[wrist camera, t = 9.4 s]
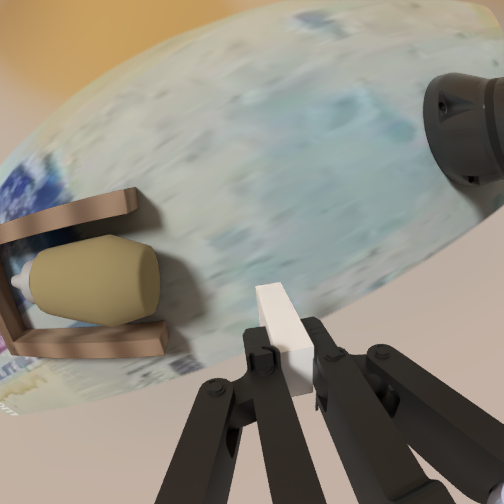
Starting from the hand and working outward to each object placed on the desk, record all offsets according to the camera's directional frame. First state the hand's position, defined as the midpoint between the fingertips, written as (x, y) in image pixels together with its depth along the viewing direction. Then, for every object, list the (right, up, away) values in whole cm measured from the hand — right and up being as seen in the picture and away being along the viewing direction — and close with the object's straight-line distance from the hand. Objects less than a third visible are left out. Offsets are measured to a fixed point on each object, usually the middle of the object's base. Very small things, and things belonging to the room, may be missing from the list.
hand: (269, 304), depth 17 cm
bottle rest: (-22, 0, +8) cm, 23 cm away
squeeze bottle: (-9, +1, +5) cm, 11 cm away
